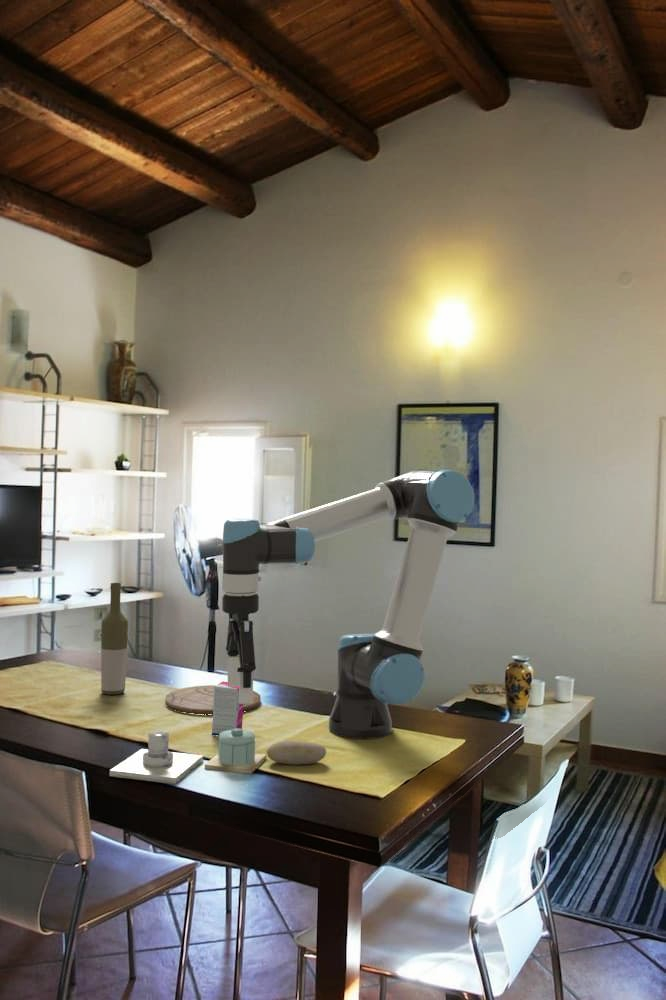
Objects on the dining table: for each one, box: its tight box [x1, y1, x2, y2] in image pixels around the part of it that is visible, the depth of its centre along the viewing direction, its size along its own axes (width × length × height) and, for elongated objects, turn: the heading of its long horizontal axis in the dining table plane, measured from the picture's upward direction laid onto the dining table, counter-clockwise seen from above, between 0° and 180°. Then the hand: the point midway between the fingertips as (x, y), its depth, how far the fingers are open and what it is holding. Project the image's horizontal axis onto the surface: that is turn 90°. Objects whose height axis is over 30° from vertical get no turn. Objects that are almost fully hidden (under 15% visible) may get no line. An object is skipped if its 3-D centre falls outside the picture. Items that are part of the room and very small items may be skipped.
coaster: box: [204, 752, 267, 775], centre depth 176 cm, size 10×10×1 cm
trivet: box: [165, 684, 262, 715], centre depth 223 cm, size 25×25×2 cm
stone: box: [266, 740, 327, 766], centre depth 177 cm, size 6×6×12 cm
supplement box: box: [211, 681, 244, 736], centre depth 196 cm, size 6×6×12 cm
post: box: [109, 730, 204, 785], centre depth 171 cm, size 14×14×7 cm
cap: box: [217, 728, 256, 766], centre depth 176 cm, size 7×7×6 cm
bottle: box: [100, 582, 129, 696], centre depth 229 cm, size 7×7×30 cm
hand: (239, 694), depth 176 cm, fingers open, 13 cm apart
